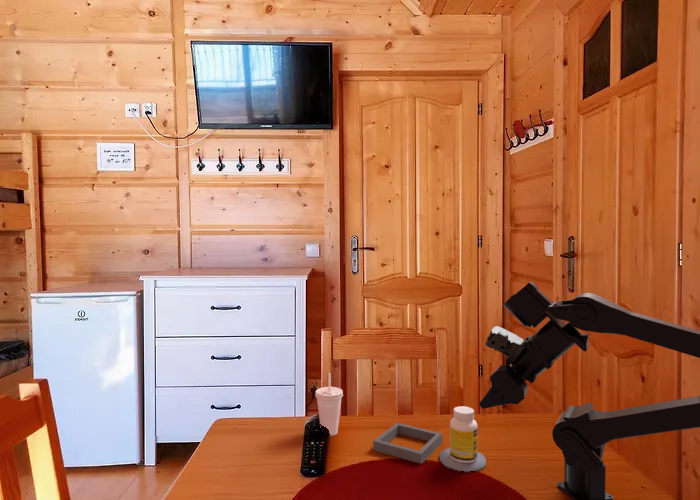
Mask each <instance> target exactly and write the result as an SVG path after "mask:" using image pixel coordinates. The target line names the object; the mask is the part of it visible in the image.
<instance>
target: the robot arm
mask: <svg viewBox="0 0 700 500" xmlns="http://www.w3.org/2000/svg"><path fill="white" fill-rule="evenodd" d="M503 307H504V308H505V309H506V310H507V311H509V313H510V314H511V315H512V316H514V318H515V319H516V320H518V321H519V323H520V324H521V325H522V326H524V328H527V327H529V329H530V328H531V327H532V328H533V329H536V327H538V326H539V325H540V324H541V323H542V322H544V321H545V319H547V318H548V319H549V320H548V321H547V322H546V323H545V324H543V326H541V327H540V328H539V329H538V330H536V332H535V333H534V334H532V335H528V336H526V337H525V338H524V339H523V338H522V337H520V336H518V335H517V334H515V333H513V332H511V331H509V330H507V329H505V328H503V327H501V326H498V325H496V326H493V328H492V329H491V330H490V332H489V335H488V336H487V338H486V341H485V346H486V347H487V348H489V349H493V350H495V351H497V352H499V353H501V354H502V355H505V364H500V365H499V366H498V367H497V368H495V370H494V371H493V372H492V373H491V374H490V375H489V381H490V388H489V389H488V391H487V392H486V394H485V395H484V396H483V398H482V399H481V400H480V402H479V404H478V406H479V407H480V408H481V409H483V410H484V409H485V410H486V409H490V408H493V407H494V408H495V407H499V406H504V405H505V406H506V405H510V404H511V405H518V404H520V403H521V402H522V401H524V399H526V397H527V395H528V392H529V387H528V386H529V385H528V383H527V382H526V381H528V382H529V383H530V384H533V383H534V382H535V381H536V380H537V378H538V376H539V375H541V374H542V373H543V372H545V371H546V369H547V370H550V368H551V367H553V365H554V363H555V362H556V361H557V360H558V359H559V358H561V357H562V356H564V354H566V353H567V352H568V351H569V350H570V349H572V347H574V346H575V345H576V346H577V347H578V348H579V349H580V350H581V351H582V352H583V353H584V352H587V350H588V349H589V347H590V341H589V339H590V334H591V333H590V332H592V333H599V334H610V335H621V336H626V337H629V338H633V339H636V340H639V341H643V342H646V343H650V344H652V345H656V346H659V347H661V348H666V349H669V350H672V351H675V352H678V353H682V354H685V355H689V356H692V357H695V358H697V359H698V358H699V359H700V330H698V329H695V328H692V327H687V326H684V325H680V324H677V323H674V322H670V321H666V320H663V319H659V318H656V317H652V316H648V315H645V314H642V313H639V312H638V313H637V312H635V311H631V310H628V309H626V307H622V306H621V305H619V304H617V303H615V302H613V301H611V300H609V299H607V298H604V297H602V296H600V295H597V294H595V293H593V292H584V293H583V292H582V293H580V294H578V295H576V296H575V297H574V298H573V299H568V300H567V299H566V300H561V299H560V300H556V301H554V302H553V301H552V300H551V299H550V298H549V297H548V296H547V295H545V294H544V293H543V292H542V291H541V290H540V288H539V287H538V285H536V284H535V283H534V282H533V281H530V282H527V283H526V285H524V286H523V287H522V288H521V289H520V290H518V291H517V292H516V293H514V294H512V295H511V296H510V297H509V298H508V299H507V300H506V301H505V302H504V303H503ZM565 321H566V322H567V323H565ZM580 330H581V331H585V333H584V332H581V331H580ZM586 332H589V333H586ZM593 406H594V405H593V402H587V403H583V404H581V405H576V406H575V405H568V407H567V409H566V410H565V411H563V412H561V414H560V415H559V417H558V420H556V423H555V425H554V426H553V429H552V434H551V435H552V436H551V437H552V439H553V442H554V444H555V445H556V447H558V449H560V450H561V452H562V455H563V458H564V469H563V470H564V477H563V478H564V480H563V481H557V482H556V483H557V485H556V486H557V487H559V488H560V489H562V491H564V493H566V494H567V495H568V496H570V497H571V498H572V499H573V500H614V496H613V495H611V494H610V493H608V491H606V485H607V484H606V483H607V482H606V474H607V473H606V472H607V470H606V468H607V467H606V465H605V464H604V460H603V458H604V454H605V449H606V445H607V444H608V443H609V442H612V441H614V440H620V439H627V438H634V437H641V436H649V435H655V434H656V435H657V434H662V433H670V432H675V431H684V430H691V429H699V428H700V395H698V396H689V397H686V398H679V399H675V400H669V401H662V402H656V403H651V404H645V405H640V406H639V405H638V406H633V407H628V408H622V409H617V410H616V409H615V410H611V411H603V410H596V409H594V407H593Z"/></svg>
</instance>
